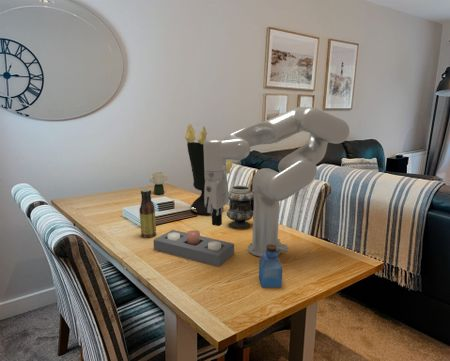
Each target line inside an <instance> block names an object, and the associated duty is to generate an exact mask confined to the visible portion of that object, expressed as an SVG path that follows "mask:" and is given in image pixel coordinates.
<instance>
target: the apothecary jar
mask: <svg viewBox="0 0 450 361" xmlns="http://www.w3.org/2000/svg"><path fill="white" fill-rule="evenodd" d="M252 200H254V197H253V191H251V188H250V187H249V186H247V185H239V184H238V185H232V186H231V187H230V191H229V207H228V209H227V210H226V216H227V218H228V219H230V220H232V221H231V222H230V223H229V224H228V226H229V227H230V228H231V229H235V230H246V229H249V228H250V227H251V223H249V222H248V221H250V220H251V219H253V210H252V206H251V205H252Z"/></svg>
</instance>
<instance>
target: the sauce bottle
mask: <svg viewBox="0 0 450 361" xmlns="http://www.w3.org/2000/svg"><path fill="white" fill-rule="evenodd" d="M140 194H141V201H140V202H141V203H140V206H139V212H138V213H139V220H140V221H139V224H140V225H139V226H140V233H141V236H142V237H143V238H147V239H148V238H153V237H156V235H157V224H156V223H157V222H156V210H155V204H154V202H153V201H152V190H151V189H150V188H143V189H140Z"/></svg>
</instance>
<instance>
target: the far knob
mask: <svg viewBox="0 0 450 361" xmlns="http://www.w3.org/2000/svg"><path fill="white" fill-rule="evenodd" d="M167 238H168V239H169V240H174V241H176V240H178V239H180V234H179V233H176V232H172V233H169V234H168V235H167Z"/></svg>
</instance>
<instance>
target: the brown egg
mask: <svg viewBox="0 0 450 361" xmlns="http://www.w3.org/2000/svg"><path fill="white" fill-rule="evenodd" d="M186 233H187V244H190V245H195V246H196V245H198V244H199V243H200V236H201V232H200V231H198V230H188V231H187V232H186Z"/></svg>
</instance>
